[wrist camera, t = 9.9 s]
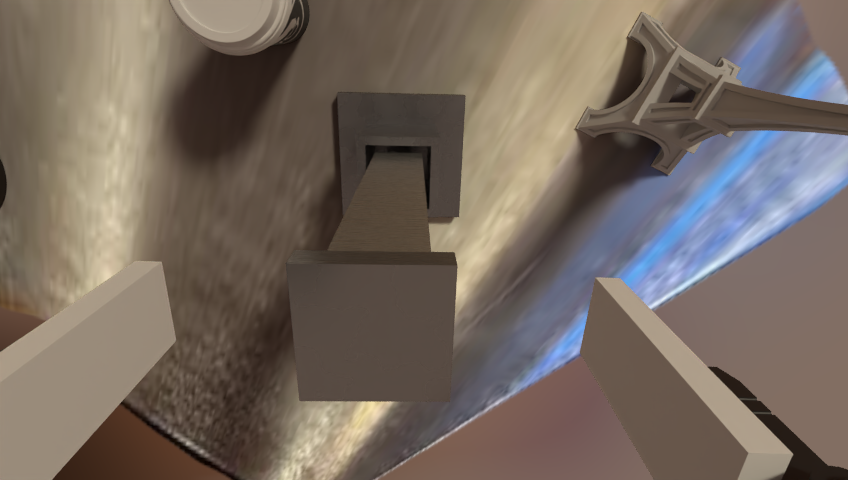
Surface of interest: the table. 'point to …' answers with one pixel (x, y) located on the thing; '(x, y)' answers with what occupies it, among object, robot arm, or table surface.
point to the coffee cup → (243, 23)
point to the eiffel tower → (701, 102)
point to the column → (376, 297)
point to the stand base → (404, 141)
